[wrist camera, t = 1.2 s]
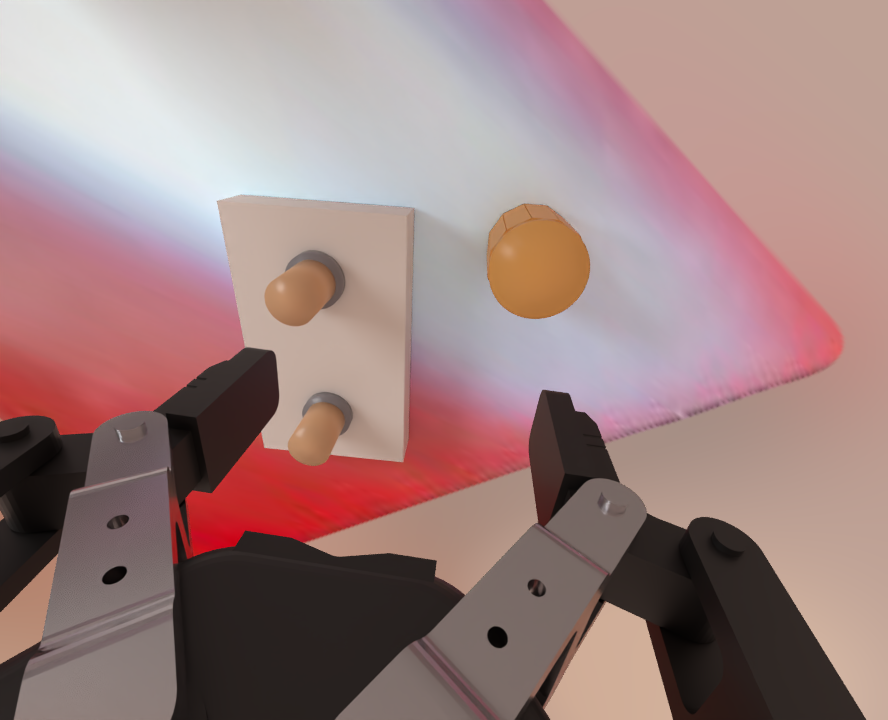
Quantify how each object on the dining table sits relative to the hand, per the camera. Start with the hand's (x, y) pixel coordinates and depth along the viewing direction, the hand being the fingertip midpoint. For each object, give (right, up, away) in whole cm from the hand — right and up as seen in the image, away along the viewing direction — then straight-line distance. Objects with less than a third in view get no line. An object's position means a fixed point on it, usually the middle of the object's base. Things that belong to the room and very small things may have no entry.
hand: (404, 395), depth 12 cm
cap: (+7, +9, +16) cm, 20 cm away
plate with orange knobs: (-7, +3, +21) cm, 22 cm away
